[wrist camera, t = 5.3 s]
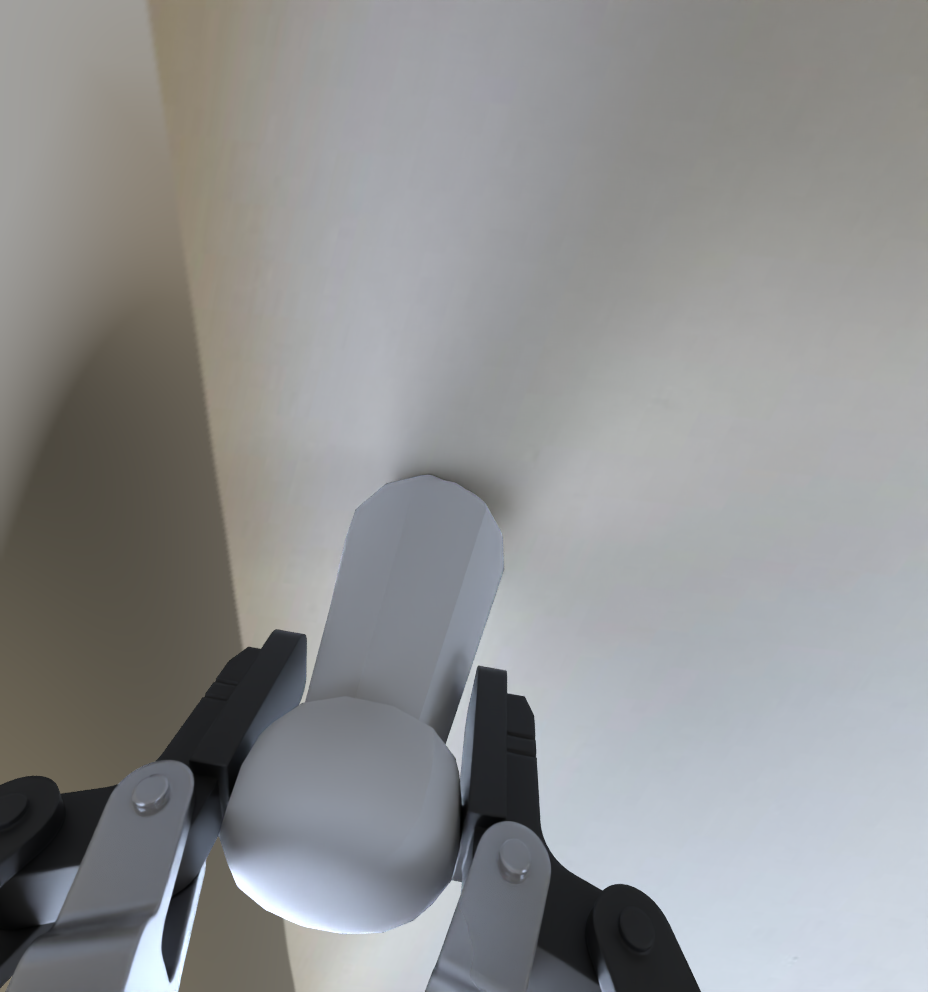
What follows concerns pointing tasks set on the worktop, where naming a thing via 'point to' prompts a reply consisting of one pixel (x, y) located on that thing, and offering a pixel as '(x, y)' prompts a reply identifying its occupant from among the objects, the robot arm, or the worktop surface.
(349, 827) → the salt shaker
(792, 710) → the worktop surface
